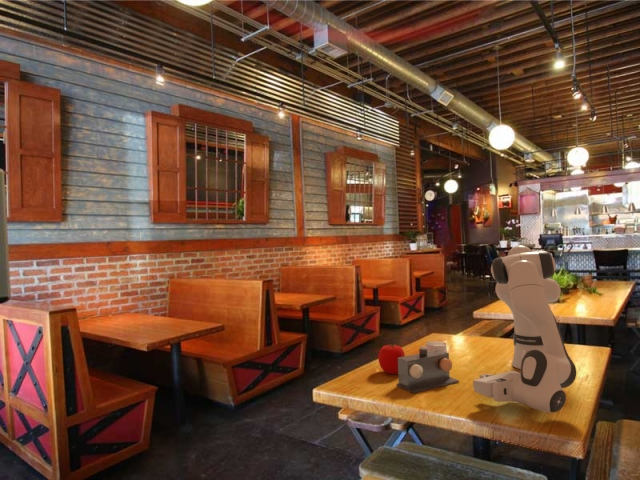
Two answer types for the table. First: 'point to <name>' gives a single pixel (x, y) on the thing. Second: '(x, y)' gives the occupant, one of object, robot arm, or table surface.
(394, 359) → the tomato
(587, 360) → the table surface
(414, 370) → the knob
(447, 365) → the knob
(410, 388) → the mount
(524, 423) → the table surface
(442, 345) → the cup
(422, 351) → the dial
